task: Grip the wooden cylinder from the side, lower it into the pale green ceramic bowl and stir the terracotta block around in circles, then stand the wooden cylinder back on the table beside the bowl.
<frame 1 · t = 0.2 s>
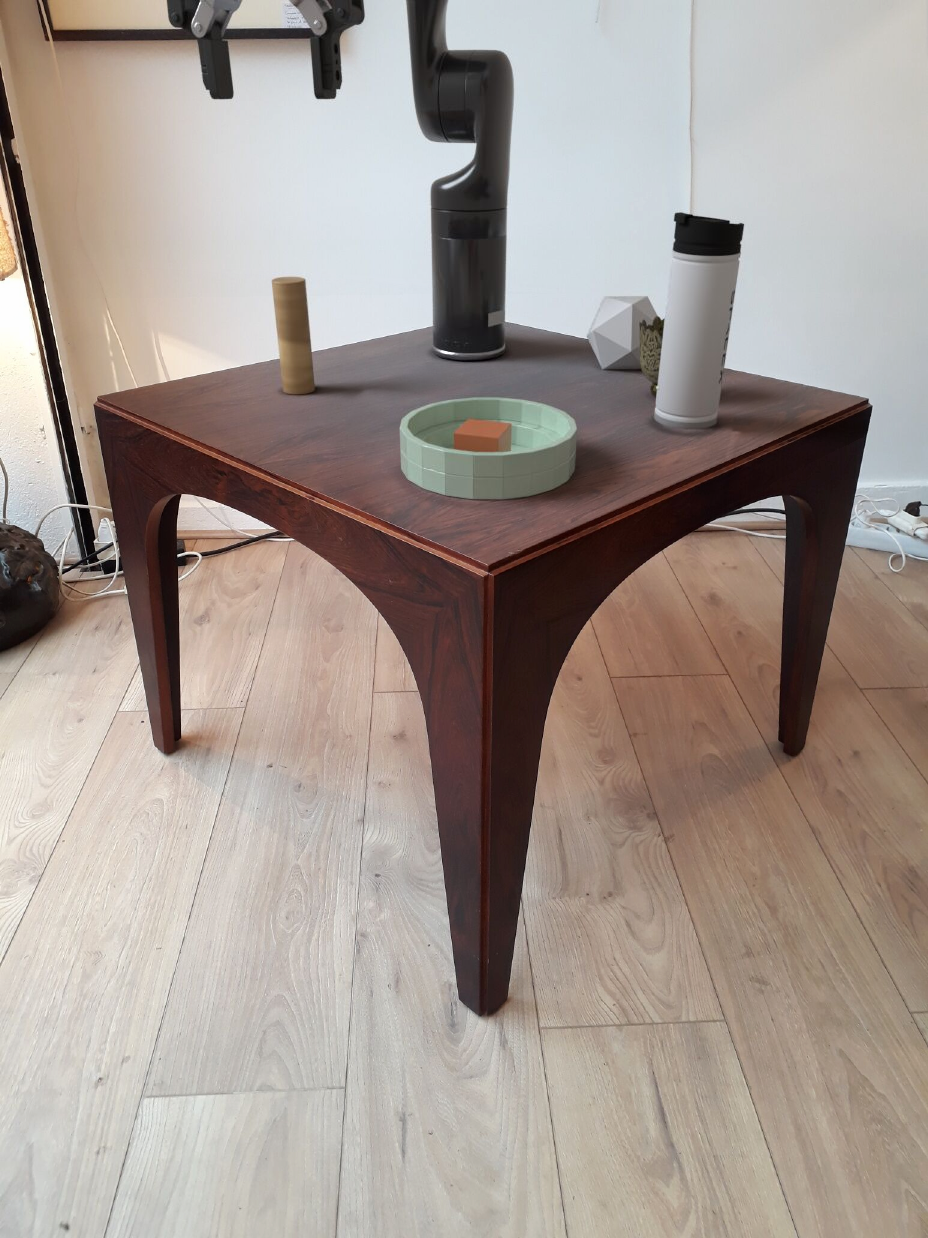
hand: (273, 98, 66), 29 cm above the table, tool pointing down, fingers open, 8 cm apart
die: (621, 367, 112), on the table
travel mug: (682, 426, 93), on the table
block: (482, 471, 80), point 1 cm above the table, touching bowl
wooden cylinder: (299, 389, 104), on the table
cup: (666, 398, 101), on the table
bowl: (487, 471, 82), on the table
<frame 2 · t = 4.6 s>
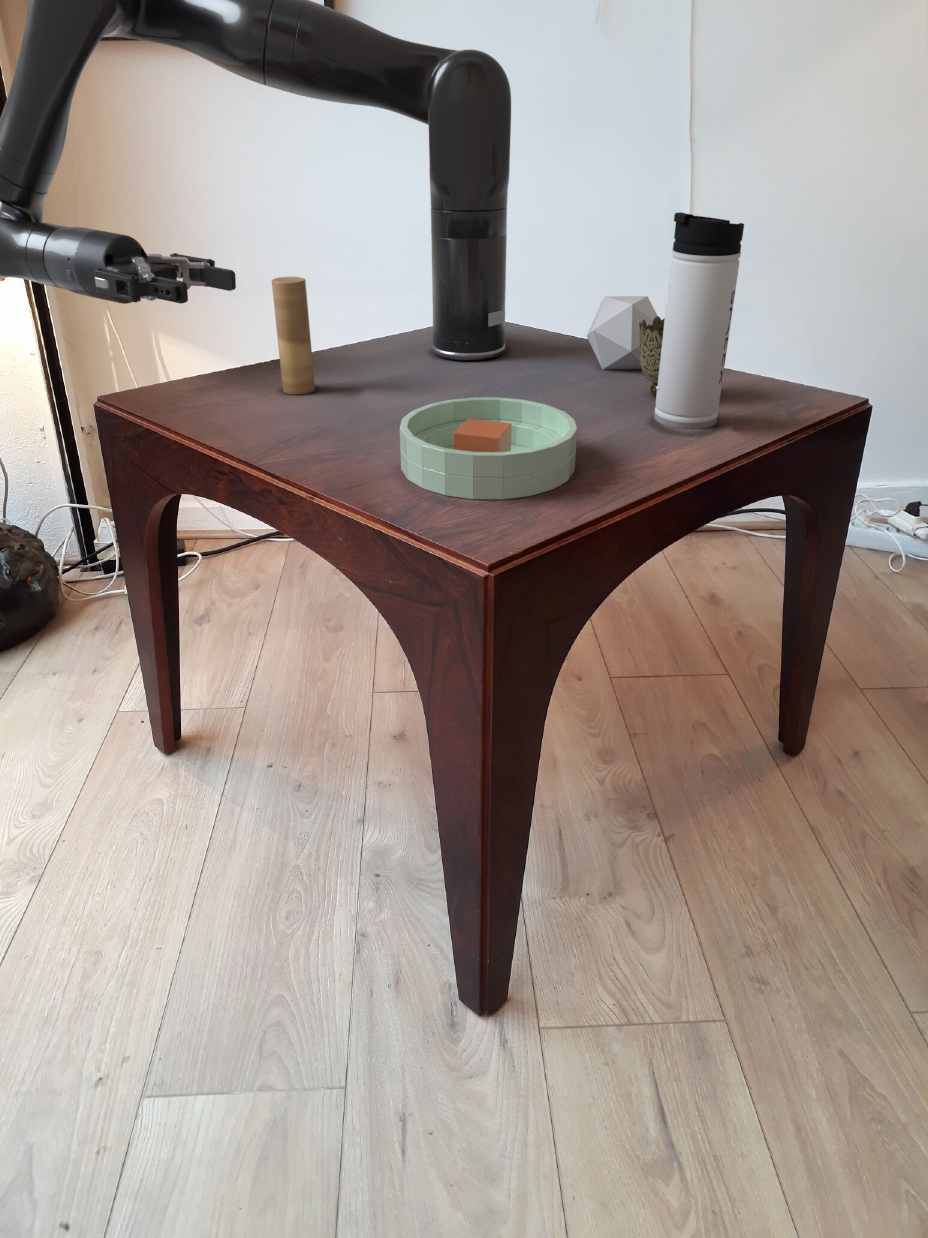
hand: (210, 286, 101), 11 cm above the table, tool horizontal, fingers open, 8 cm apart
nothing on the table moved.
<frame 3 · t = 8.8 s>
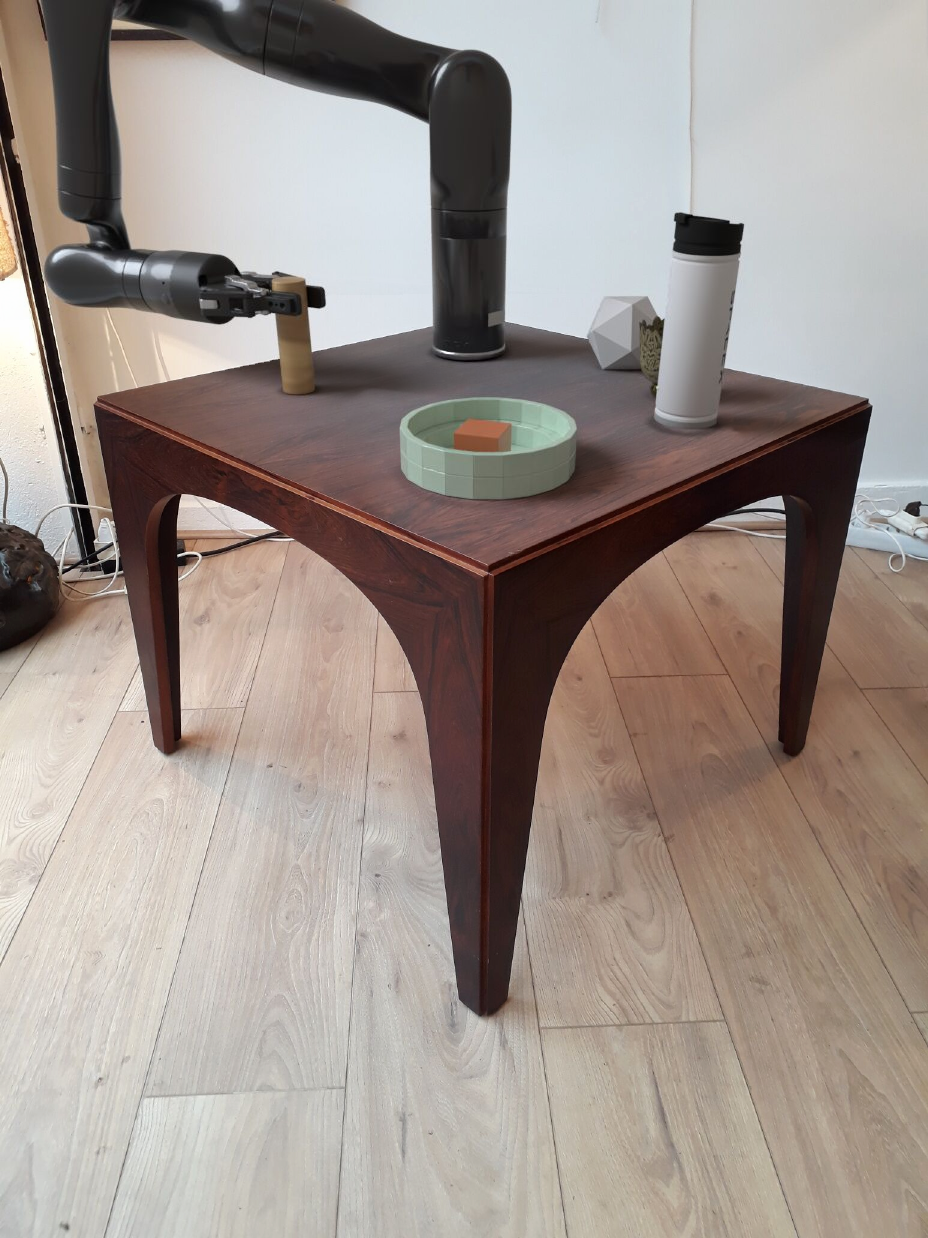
hand: (311, 301, 97), 10 cm above the table, tool horizontal, fingers closed on wooden cylinder, 3 cm apart
wooden cylinder: (299, 389, 104), on the table, touching gripper
everything else where it was.
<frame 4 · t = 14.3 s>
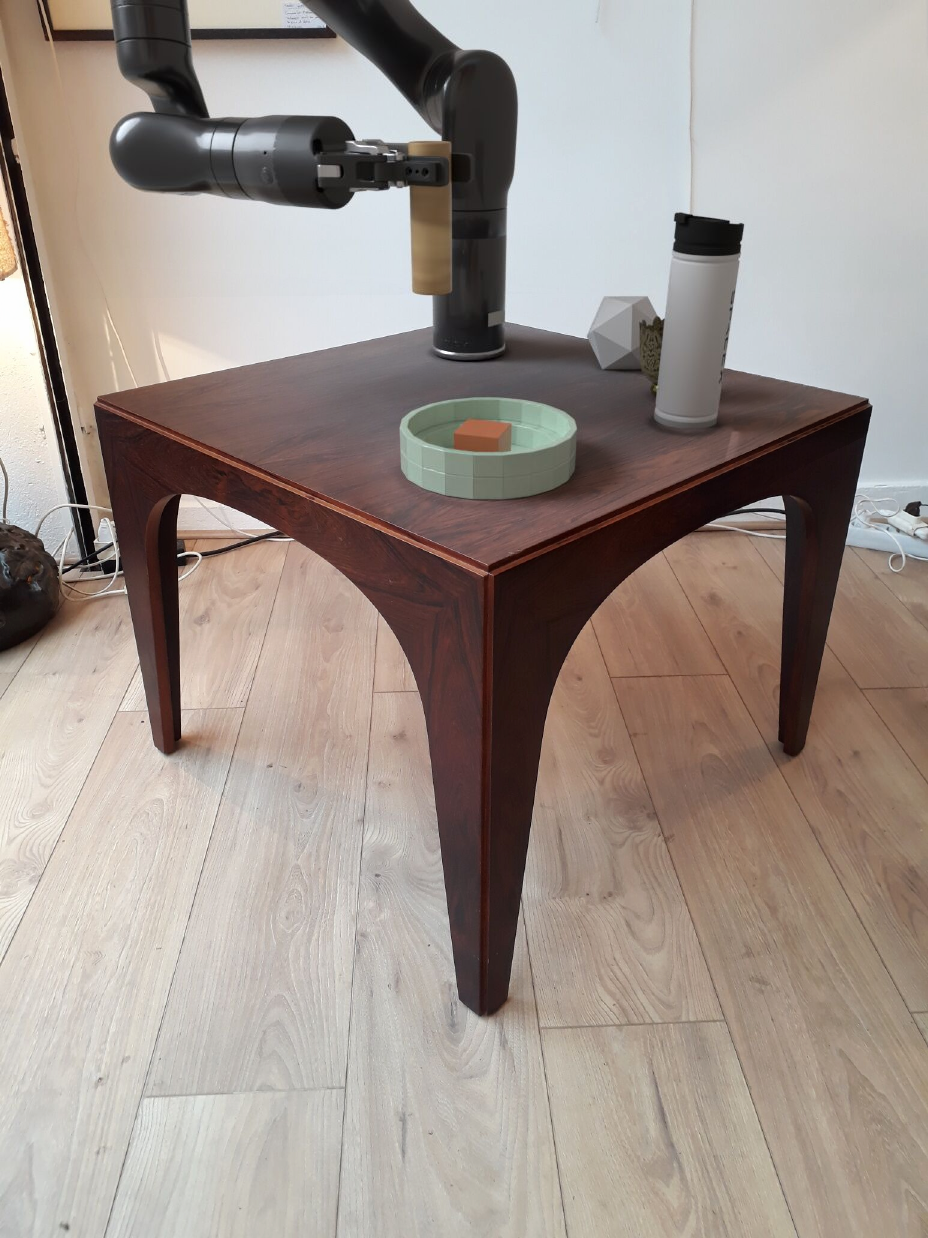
hand: (459, 169, 76), 24 cm above the table, tool horizontal, fingers closed on wooden cylinder, 3 cm apart
wooden cylinder: (432, 291, 82), point 14 cm above the table, touching gripper
everything else where it was.
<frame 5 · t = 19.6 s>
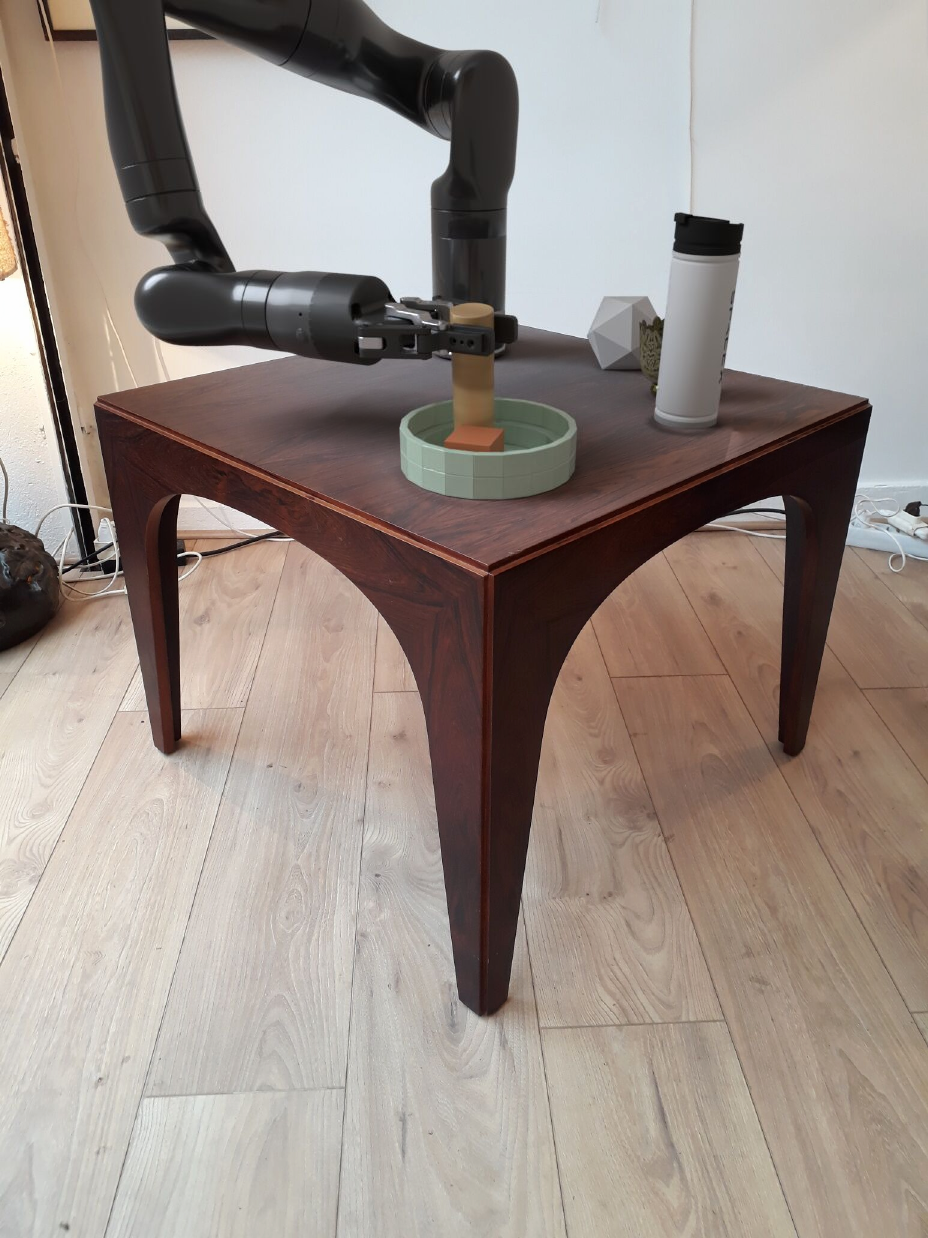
hand: (503, 335, 74), 12 cm above the table, tool horizontal, fingers closed on wooden cylinder, 3 cm apart
block: (475, 478, 79), point 1 cm above the table, touching bowl, wooden cylinder
wooden cylinder: (474, 443, 81), point 2 cm above the table, tilted 7°, touching block, gripper
everything else where it was.
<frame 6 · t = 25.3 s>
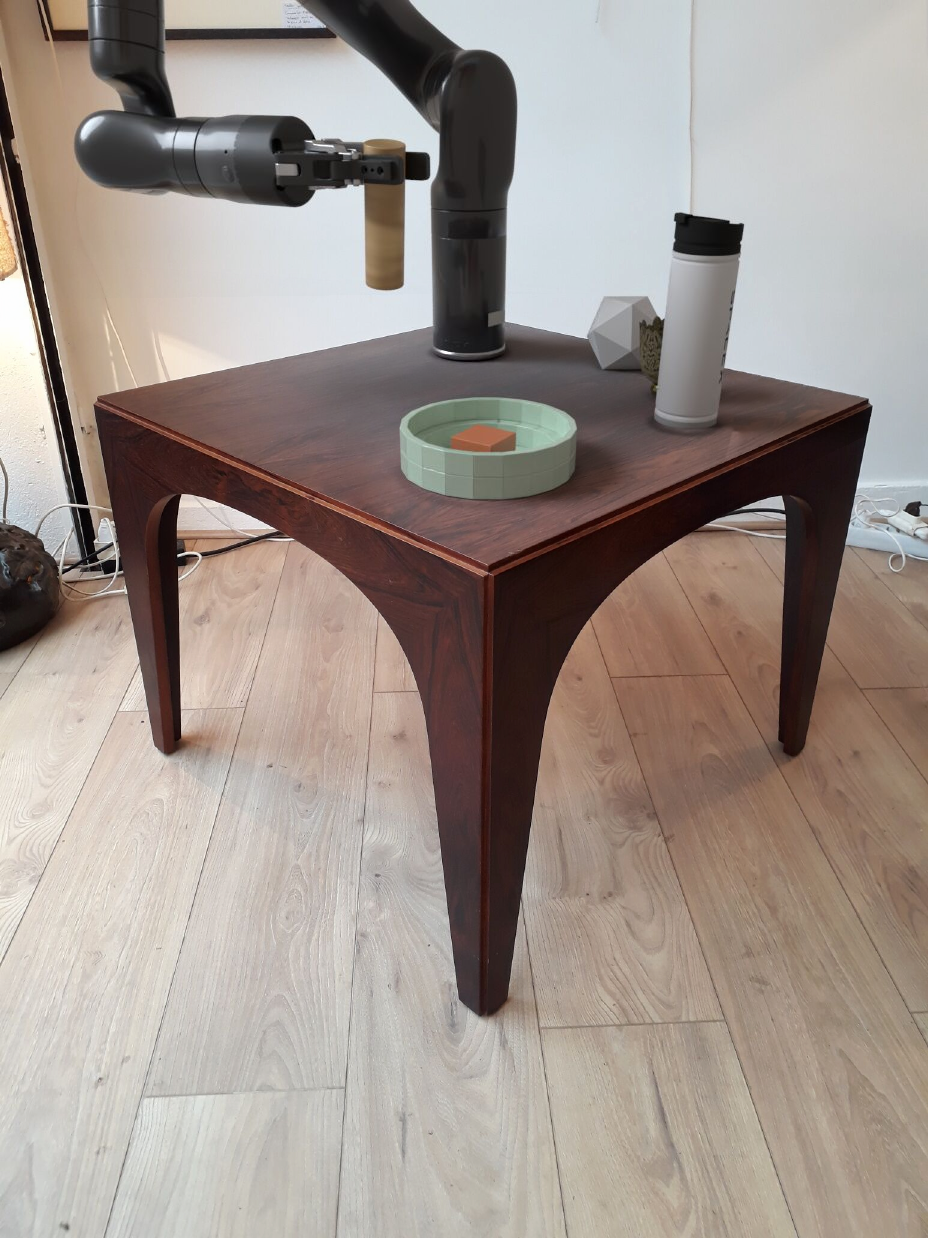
hand: (414, 168, 78), 24 cm above the table, tool horizontal, fingers closed on wooden cylinder, 3 cm apart
block: (483, 478, 79), point 1 cm above the table, touching bowl
wooden cylinder: (384, 283, 85), point 14 cm above the table, tilted 9°, touching gripper
everything else where it was.
when the fingers open (10 cm above the table, at t = 30.5 s): wooden cylinder stays where it is, on the table.
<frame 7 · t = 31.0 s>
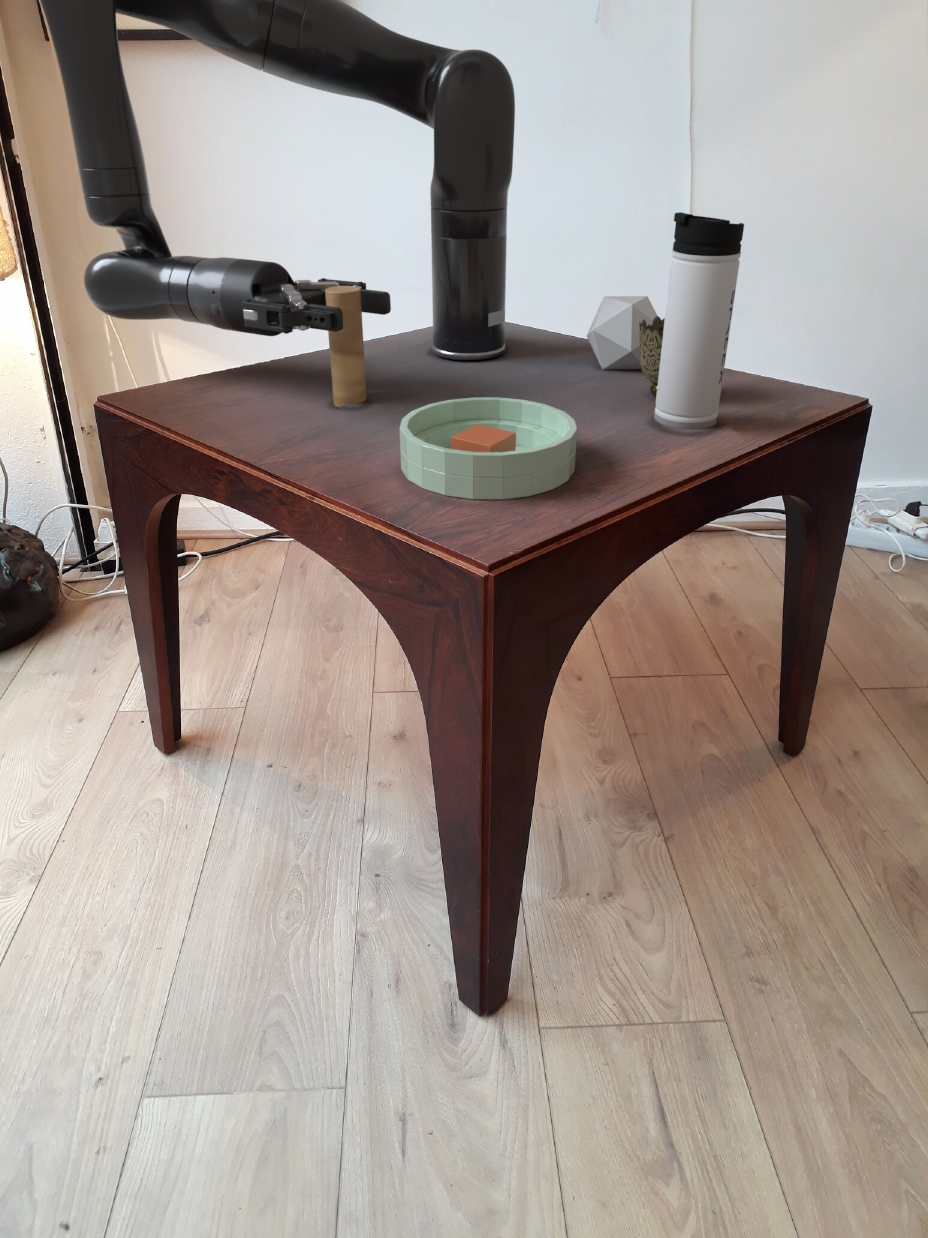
hand: (365, 311, 92), 10 cm above the table, tool horizontal, fingers open, 8 cm apart
wooden cylinder: (350, 403, 99), on the table
everything else where it was.
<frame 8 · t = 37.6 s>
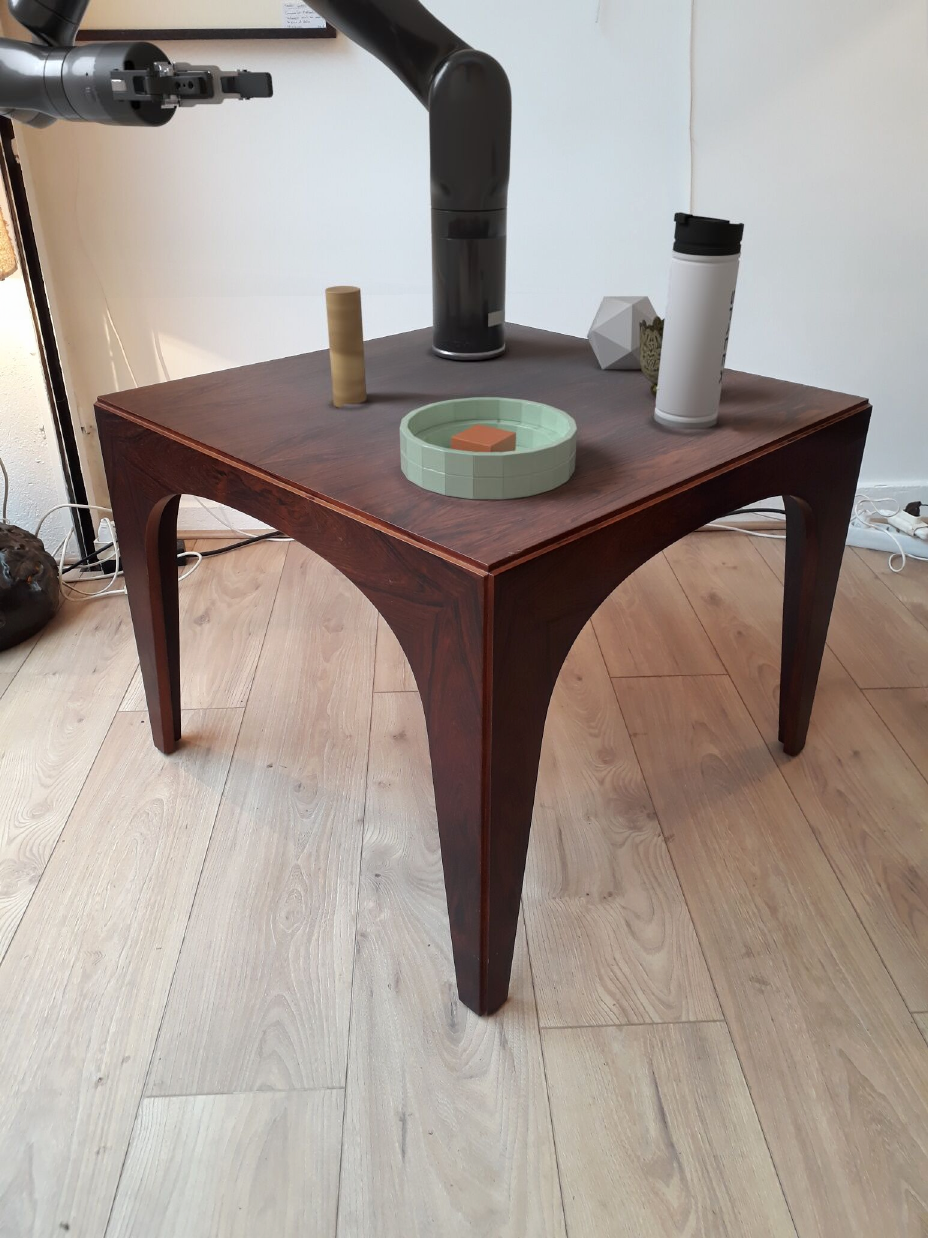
hand: (241, 84, 87), 30 cm above the table, tool horizontal, fingers open, 8 cm apart
nothing on the table moved.
at the end: block inside the target area in the bowl (3.2 cm from its centre), point 0.6 cm above the bowl's base; block moved 1.8 cm from its start; the gripper is holding nothing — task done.
